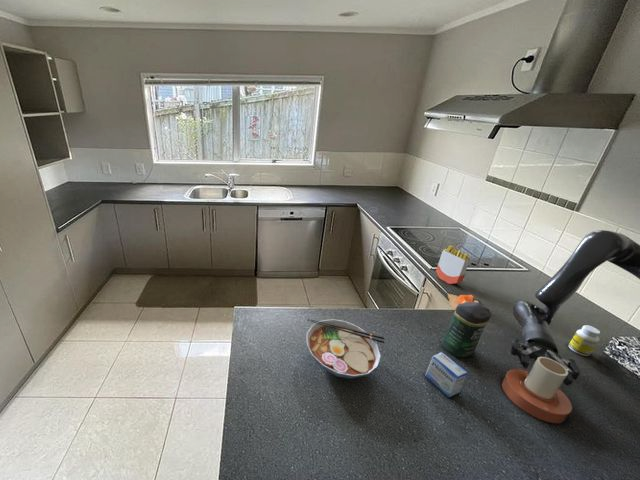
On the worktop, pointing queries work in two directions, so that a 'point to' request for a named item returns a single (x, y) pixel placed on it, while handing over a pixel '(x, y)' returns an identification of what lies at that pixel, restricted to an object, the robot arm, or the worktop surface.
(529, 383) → the cream cup
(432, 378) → the medicine box
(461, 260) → the french fries container
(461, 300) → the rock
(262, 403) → the worktop surface
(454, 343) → the coffee jar
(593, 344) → the supplement bottle
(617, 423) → the worktop surface
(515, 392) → the terracotta pedestal disc
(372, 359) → the ramen bowl
